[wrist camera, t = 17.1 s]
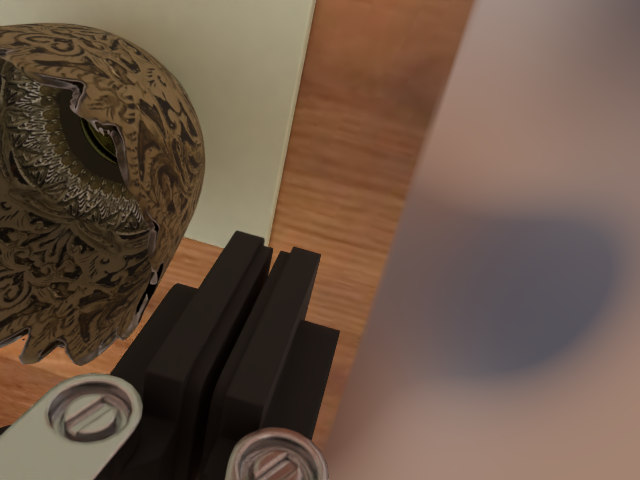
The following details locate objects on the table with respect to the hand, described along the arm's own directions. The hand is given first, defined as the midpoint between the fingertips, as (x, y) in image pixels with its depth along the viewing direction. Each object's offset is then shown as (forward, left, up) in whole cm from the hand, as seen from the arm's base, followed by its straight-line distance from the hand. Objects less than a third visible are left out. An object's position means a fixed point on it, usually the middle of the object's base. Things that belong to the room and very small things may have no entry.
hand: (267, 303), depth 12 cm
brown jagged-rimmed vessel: (0, +6, -8) cm, 10 cm away
